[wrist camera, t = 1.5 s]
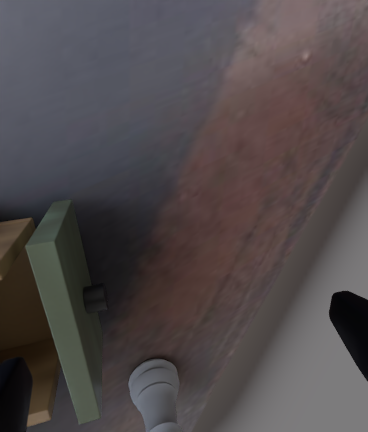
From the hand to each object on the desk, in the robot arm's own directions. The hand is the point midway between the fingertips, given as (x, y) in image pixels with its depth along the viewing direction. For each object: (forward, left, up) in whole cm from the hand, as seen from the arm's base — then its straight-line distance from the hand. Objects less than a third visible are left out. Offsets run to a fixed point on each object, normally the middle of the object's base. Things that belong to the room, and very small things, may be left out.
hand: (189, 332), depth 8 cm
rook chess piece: (-16, +1, -14) cm, 21 cm away
